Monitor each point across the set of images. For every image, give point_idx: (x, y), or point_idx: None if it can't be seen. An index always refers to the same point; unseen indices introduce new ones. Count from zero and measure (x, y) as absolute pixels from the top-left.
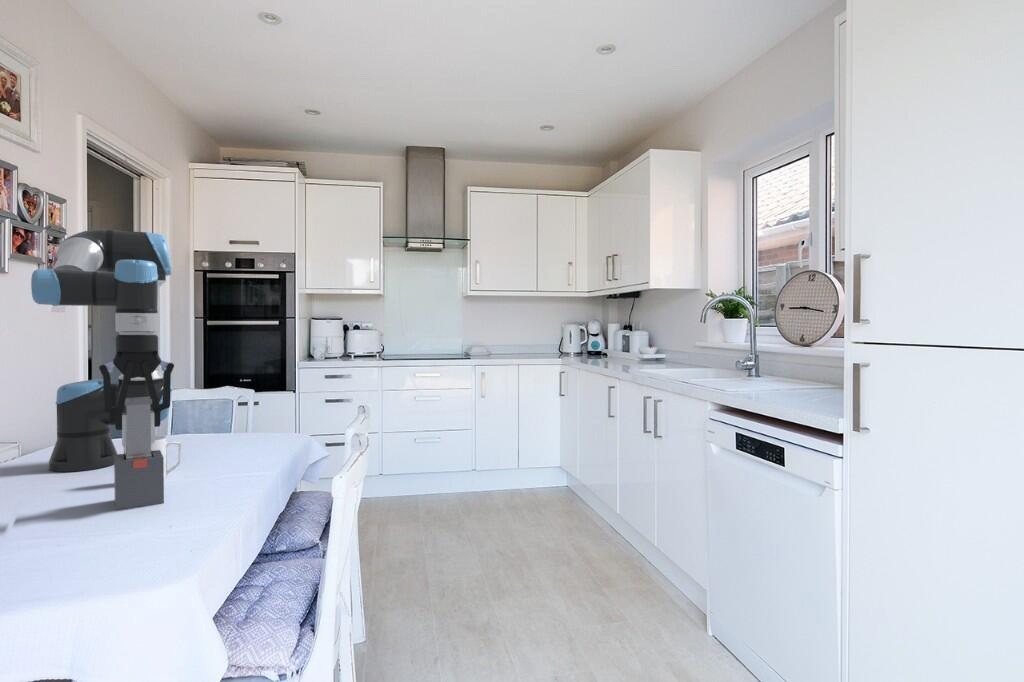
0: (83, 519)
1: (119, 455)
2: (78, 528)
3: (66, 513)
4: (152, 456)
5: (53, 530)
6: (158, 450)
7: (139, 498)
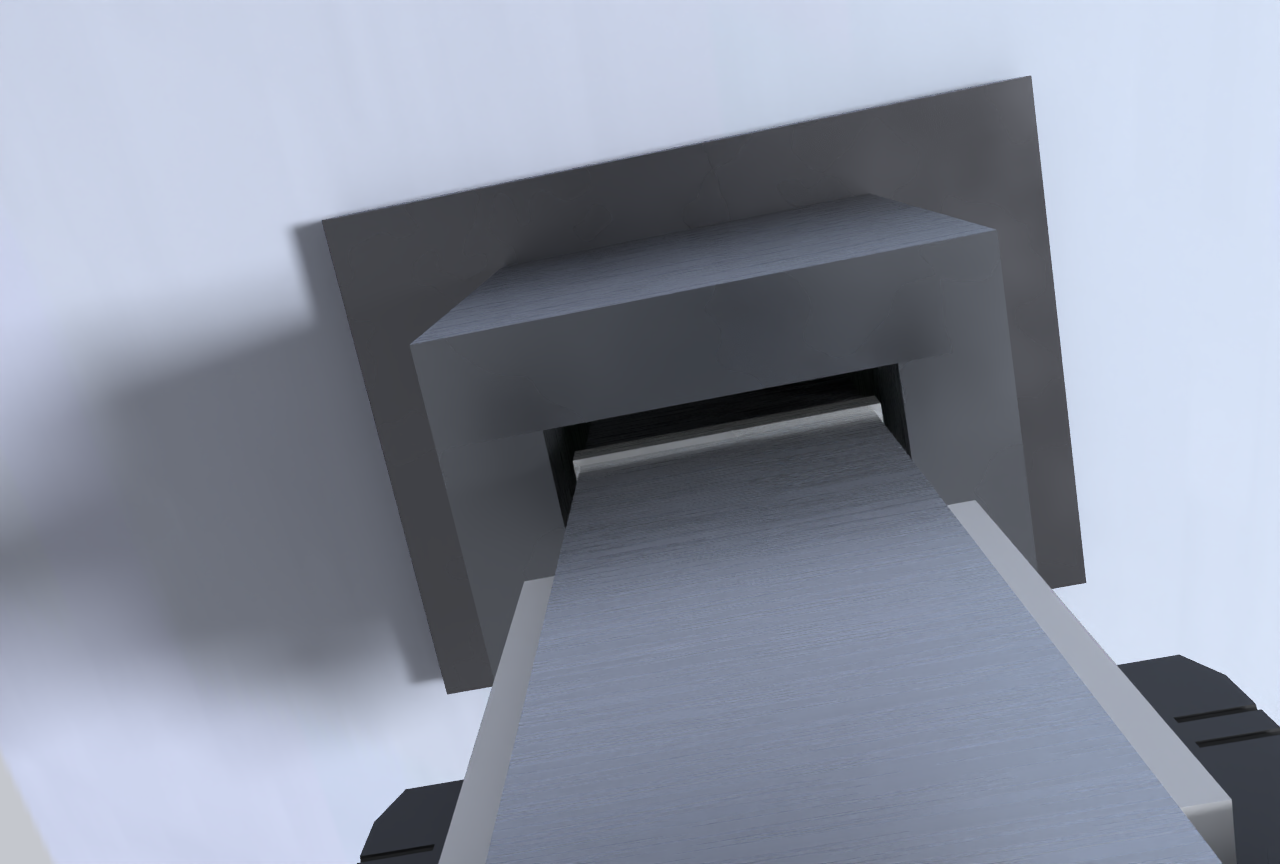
0: (366, 566)
1: (494, 424)
2: (395, 767)
3: (184, 343)
4: (901, 440)
5: (245, 747)
6: (979, 263)
7: None
